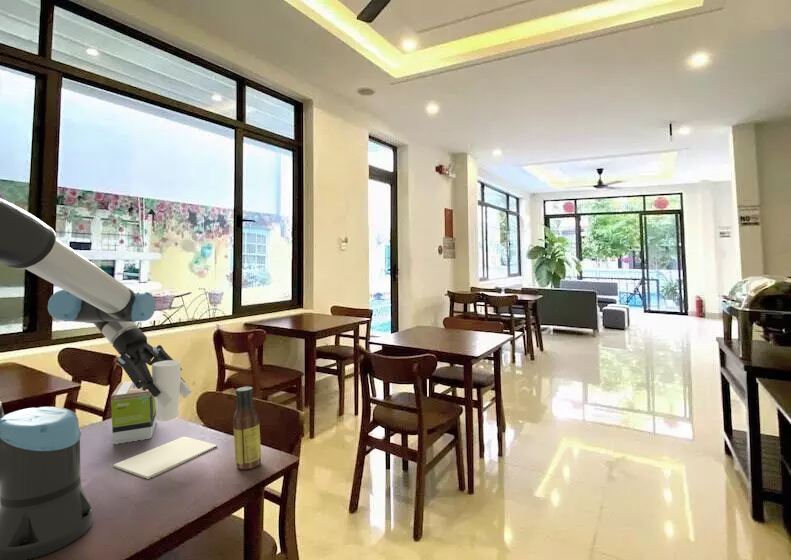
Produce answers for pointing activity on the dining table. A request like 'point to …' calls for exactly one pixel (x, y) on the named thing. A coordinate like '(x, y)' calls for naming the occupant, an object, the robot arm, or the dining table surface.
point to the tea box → (132, 413)
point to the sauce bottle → (246, 431)
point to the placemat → (164, 457)
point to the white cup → (167, 387)
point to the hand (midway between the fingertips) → (178, 398)
